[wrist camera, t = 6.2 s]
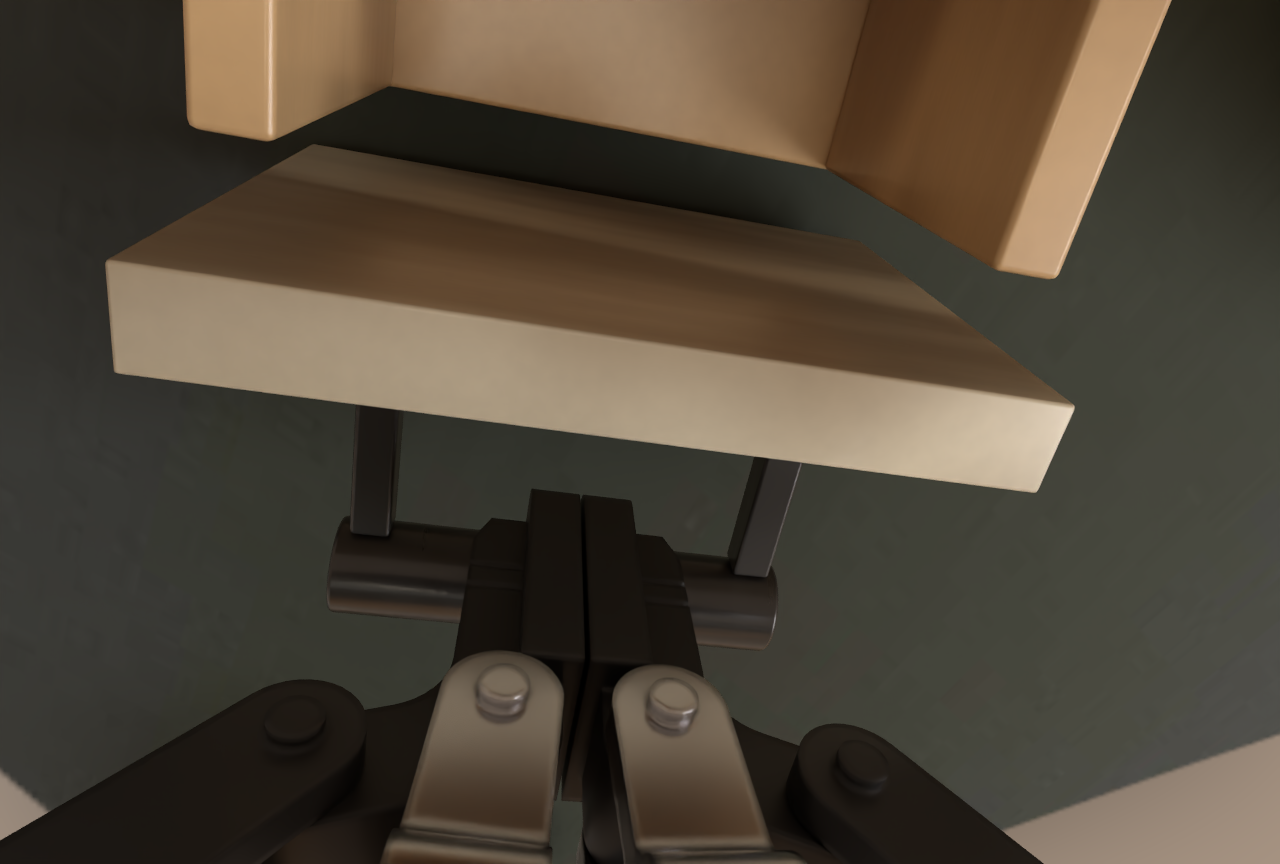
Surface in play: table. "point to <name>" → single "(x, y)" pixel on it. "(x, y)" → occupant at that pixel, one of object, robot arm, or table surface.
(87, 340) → the table surface
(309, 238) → the drawer
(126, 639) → the table surface
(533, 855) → the robot arm
